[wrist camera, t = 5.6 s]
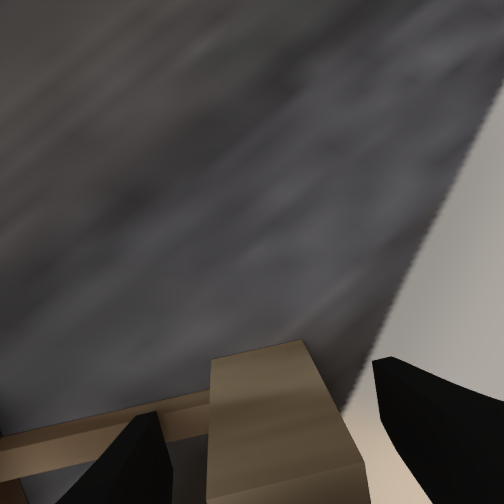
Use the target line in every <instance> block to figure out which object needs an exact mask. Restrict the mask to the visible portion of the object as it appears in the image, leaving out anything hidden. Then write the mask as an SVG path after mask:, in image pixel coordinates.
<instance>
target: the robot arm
mask: <svg viewBox="0 0 504 504" xmlns="http://www.w3.org/2000/svg"><path fill="white" fill-rule="evenodd" d="M372 365H373V372H374V379H375V385H376V392H377V399H378V405H379V413H380V419H381V422H382V424H383V426H384V428H385V430H386V432H387V434H388V436H389V437H390V440H391V441H392V443H393V445H394V447H395V449H396V451H397V452H398V454H399V455H400V457H401V458H402V460H403V461H404V463H405V464H406V466H407V467H408V468H409V470H410V471H411V473H412V474H413V476H414V477H415V478H416V480H417V482H418V483H419V484H420V486H421V487H422V489H423V490H424V492H425V493H426V495H427V496H428V497H429V499H430V500H431V502H432V503H433V504H504V401H500V400H497V399H494V398H491V397H488V396H486V395H483V394H480V393H477V392H475V391H472V390H469V389H467V388H464V387H462V386H459V385H456V384H454V383H451V382H449V381H447V380H445V379H442V378H440V377H438V376H435V375H433V374H431V373H429V372H426V371H424V370H422V369H420V368H417V367H415V366H413V365H411V364H409V363H406V362H404V361H402V360H399V359H397V358H394V357H387V358H382V359H378V360H374V361H372ZM172 485H173V467H172V464H171V460H170V457H169V453H168V450H167V446H166V443H165V439H164V436H163V432H162V429H161V425H160V422H159V418H158V415H157V411H153V412H149V413H144V414H140V415H136V416H135V417H134V418H133V419H132V420H131V421H130V422H129V423H128V425H127V426H126V427H125V428H124V429H123V430H122V431H121V433H120V434H119V435H118V436H117V437H116V439H115V440H114V441H113V442H112V443H111V444H110V446H109V447H108V448H107V449H106V450H105V451H104V452H103V454H102V455H101V456H100V457H99V458H98V459H97V460H96V462H95V463H94V464H93V465H92V466H91V467H90V468H89V469H88V470H87V471H86V472H85V473H84V475H83V476H82V477H81V478H80V479H79V480H78V481H77V482H76V483H75V484H74V485H73V486H72V487H71V488H70V489H69V490H68V491H67V493H66V494H65V495H64V496H62V497H61V498H60V499H59V500H58V501H57V502H56V503H55V504H171V503H172Z"/></svg>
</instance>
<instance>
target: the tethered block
mask: <svg viewBox="0 0 504 504" xmlns="http://www.w3.org/2000/svg"><path fill="white" fill-rule="evenodd" d="M153 411H157V415H158V418H159V422H160V425H161V429H162V432H163V436H164V439H165V443H170V442H174V441H178V440H183V439H187V438H191V437H195V436H200V435H204V434H208V459H207V487H206V502H207V504H371V500H370V494H369V488H368V482H367V476H366V469H365V463H364V460H363V458H362V456H361V454H360V452H359V450H358V448H357V447H356V444H355V442H354V440H353V439H352V437H351V435H350V433H349V431H348V429H347V427H346V425H345V423H344V421H343V419H342V417H341V415H340V413H339V411H338V409H337V407H336V405H335V403H334V401H333V399H332V397H331V395H330V394H329V392H328V390H327V388H326V386H325V384H324V382H323V380H322V378H321V376H320V374H319V372H318V370H317V368H316V366H315V364H314V362H313V360H312V358H311V356H310V354H309V352H308V350H307V349H306V347H305V345H304V343H303V341H302V339H301V340H297V341H292V342H288V343H283V344H279V345H275V346H270V347H266V348H261V349H257V350H252V351H248V352H244V353H239V354H235V355H230V356H226V357H222V358H217V359H213V360H211V376H210V389H209V390H205V391H200V392H196V393H191V394H187V395H183V396H178V397H174V398H170V399H165V400H161V401H157V402H152V403H148V404H144V405H139V406H135V407H131V408H126V409H122V410H118V411H113V412H109V413H104V414H100V415H96V416H91V417H87V418H83V419H78V420H74V421H70V422H65V423H61V424H57V425H52V426H48V427H44V428H39V429H35V430H31V431H26V432H22V433H17V434H13V435H9V436H4V437H2V435H1V432H0V504H28V503H27V500H26V498H25V495H24V492H23V490H22V487H21V485H20V482H19V479H18V478H21V477H25V476H29V475H34V474H38V473H42V472H46V471H51V470H55V469H59V468H63V467H68V466H72V465H76V464H80V463H85V462H89V461H93V460H97V459H98V458H99V457H100V456H101V455H102V454H103V452H104V451H105V450H106V449H107V448H108V447H109V446H110V444H111V443H112V442H113V441H114V440H115V439H116V437H117V436H118V435H119V434H120V433H121V431H122V430H123V429H124V428H125V427H126V426H127V425H128V423H129V422H130V421H131V420H132V419H133V418H134V417H135V416H136V415H140V414H144V413H149V412H153Z"/></svg>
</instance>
